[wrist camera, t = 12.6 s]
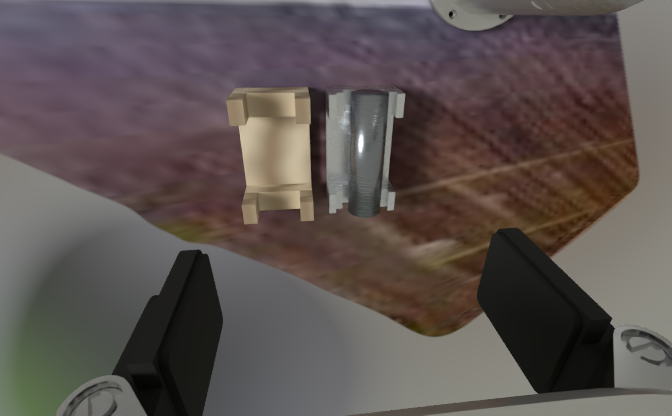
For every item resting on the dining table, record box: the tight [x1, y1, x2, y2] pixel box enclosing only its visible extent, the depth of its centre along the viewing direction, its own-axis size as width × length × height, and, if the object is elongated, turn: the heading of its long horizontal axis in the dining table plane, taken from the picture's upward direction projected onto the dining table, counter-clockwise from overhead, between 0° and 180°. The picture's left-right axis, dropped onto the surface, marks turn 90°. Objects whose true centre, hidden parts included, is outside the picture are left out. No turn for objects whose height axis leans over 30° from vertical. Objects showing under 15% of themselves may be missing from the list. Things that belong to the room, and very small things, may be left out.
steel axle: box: [348, 89, 389, 218], centre depth 40 cm, size 4×14×4 cm, turn 0°
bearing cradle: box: [226, 87, 314, 224], centre depth 40 cm, size 8×14×6 cm, turn 0°
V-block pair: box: [325, 86, 405, 213], centre depth 41 cm, size 8×14×4 cm, turn 0°
